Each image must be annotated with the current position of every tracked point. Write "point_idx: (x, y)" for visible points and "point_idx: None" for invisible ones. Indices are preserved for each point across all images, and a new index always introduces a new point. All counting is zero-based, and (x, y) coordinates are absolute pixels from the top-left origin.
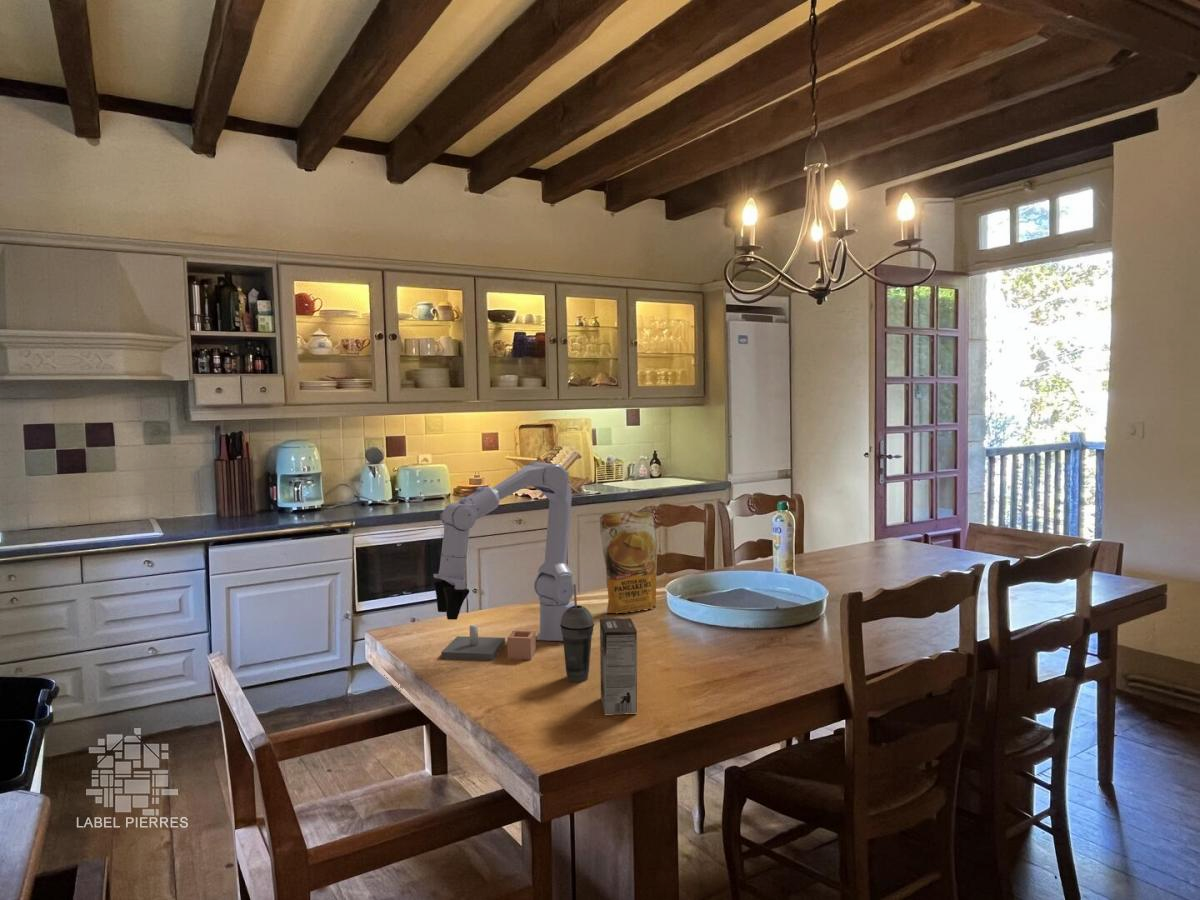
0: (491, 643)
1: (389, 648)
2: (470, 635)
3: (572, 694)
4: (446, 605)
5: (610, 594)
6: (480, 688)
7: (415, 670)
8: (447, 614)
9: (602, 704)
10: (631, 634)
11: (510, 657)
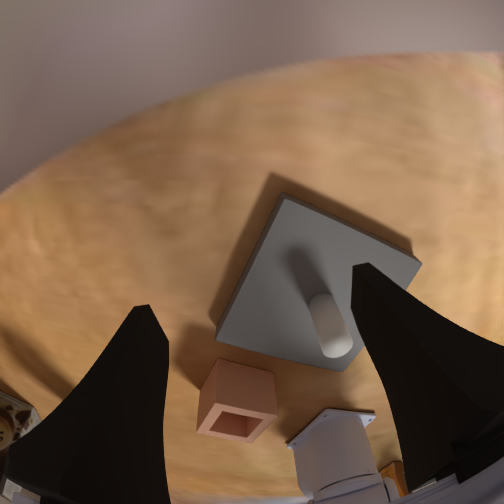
0: (312, 345)
1: (436, 52)
2: (325, 316)
3: (35, 388)
4: (117, 365)
5: (397, 486)
6: (32, 274)
7: (181, 99)
8: (122, 325)
9: (11, 397)
10: None
11: (215, 365)
